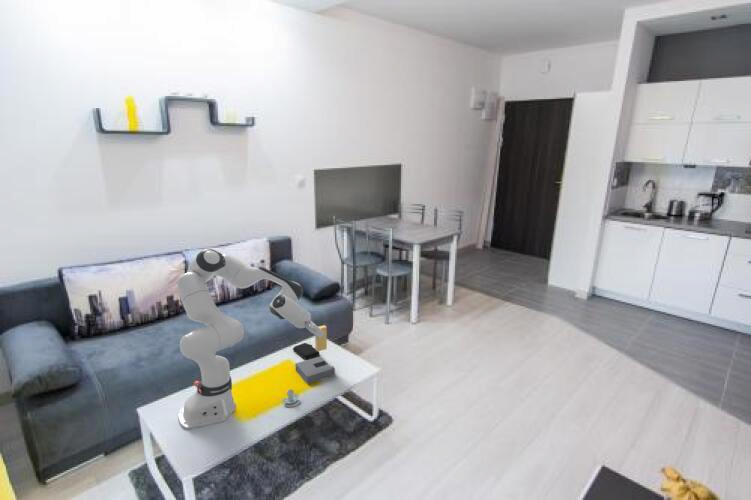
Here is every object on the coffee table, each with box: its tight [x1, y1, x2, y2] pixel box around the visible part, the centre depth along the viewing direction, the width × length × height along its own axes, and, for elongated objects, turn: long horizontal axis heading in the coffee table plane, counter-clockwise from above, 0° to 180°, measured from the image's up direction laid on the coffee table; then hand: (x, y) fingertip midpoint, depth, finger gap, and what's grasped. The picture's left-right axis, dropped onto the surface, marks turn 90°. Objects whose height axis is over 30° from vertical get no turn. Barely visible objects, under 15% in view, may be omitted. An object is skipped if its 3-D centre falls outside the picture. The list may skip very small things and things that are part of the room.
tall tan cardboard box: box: [314, 324, 328, 352], centre depth 199 cm, size 5×2×12 cm, turn 123°
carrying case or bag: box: [292, 342, 320, 361], centre depth 222 cm, size 11×3×15 cm
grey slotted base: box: [295, 355, 336, 385], centre depth 202 cm, size 15×14×5 cm
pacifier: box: [282, 388, 300, 408], centre depth 178 cm, size 7×6×6 cm
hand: (320, 333), depth 199 cm, fingers closed on tall tan cardboard box, 2 cm apart
